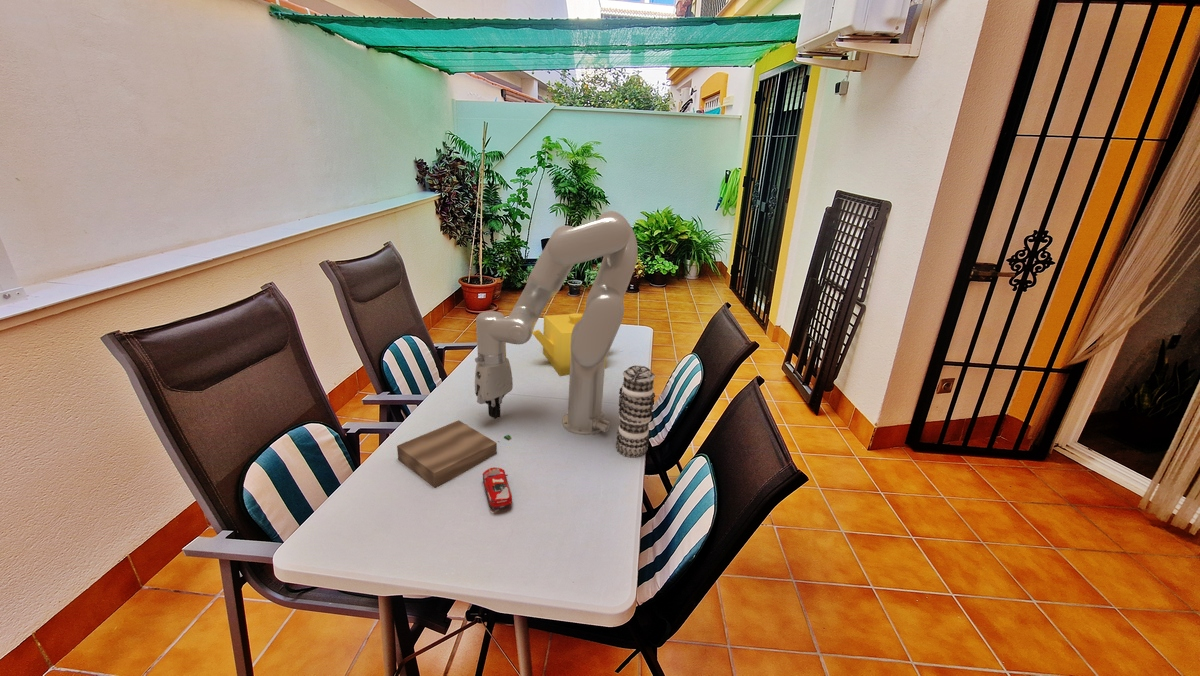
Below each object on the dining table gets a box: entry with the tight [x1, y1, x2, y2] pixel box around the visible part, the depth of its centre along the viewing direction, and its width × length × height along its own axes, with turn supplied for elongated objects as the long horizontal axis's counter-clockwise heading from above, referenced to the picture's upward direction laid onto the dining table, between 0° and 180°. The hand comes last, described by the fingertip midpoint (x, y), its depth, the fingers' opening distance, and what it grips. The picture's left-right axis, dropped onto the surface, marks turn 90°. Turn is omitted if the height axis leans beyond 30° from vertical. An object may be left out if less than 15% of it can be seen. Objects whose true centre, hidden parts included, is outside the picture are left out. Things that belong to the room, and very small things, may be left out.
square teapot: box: [532, 312, 608, 377], centre depth 176 cm, size 35×30×21 cm
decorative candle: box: [615, 365, 656, 459], centre depth 126 cm, size 9×9×25 cm
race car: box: [482, 467, 513, 511], centre depth 112 cm, size 13×5×4 cm, turn 20°
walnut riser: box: [396, 419, 498, 489], centre depth 124 cm, size 16×18×4 cm
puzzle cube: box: [496, 434, 512, 444], centre depth 132 cm, size 4×3×2 cm, turn 142°
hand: (494, 416), depth 140 cm, fingers closed
